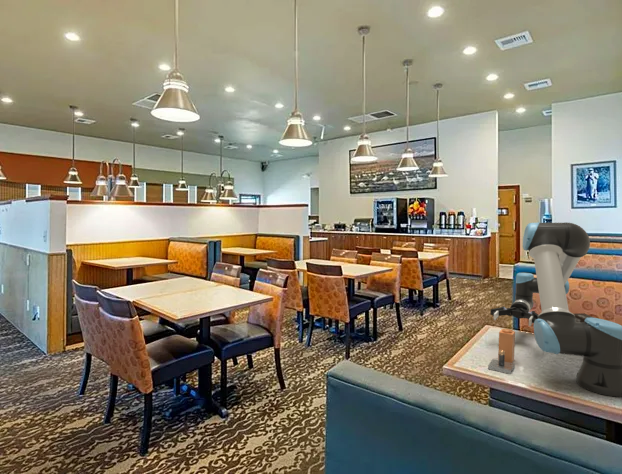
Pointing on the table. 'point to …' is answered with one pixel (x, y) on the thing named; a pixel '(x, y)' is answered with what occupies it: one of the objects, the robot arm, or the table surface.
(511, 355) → the orange capped block
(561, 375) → the table surface
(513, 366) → the junction plate
